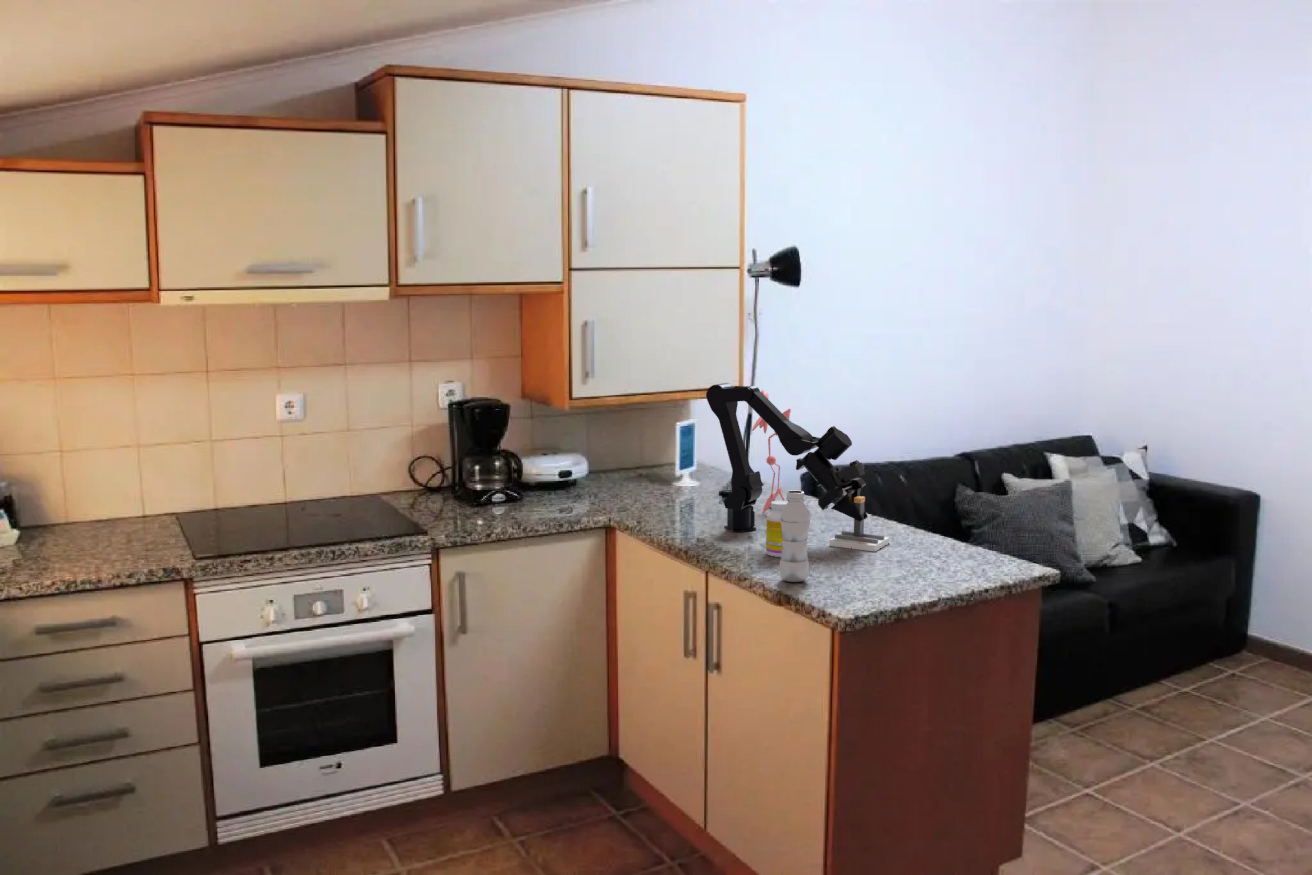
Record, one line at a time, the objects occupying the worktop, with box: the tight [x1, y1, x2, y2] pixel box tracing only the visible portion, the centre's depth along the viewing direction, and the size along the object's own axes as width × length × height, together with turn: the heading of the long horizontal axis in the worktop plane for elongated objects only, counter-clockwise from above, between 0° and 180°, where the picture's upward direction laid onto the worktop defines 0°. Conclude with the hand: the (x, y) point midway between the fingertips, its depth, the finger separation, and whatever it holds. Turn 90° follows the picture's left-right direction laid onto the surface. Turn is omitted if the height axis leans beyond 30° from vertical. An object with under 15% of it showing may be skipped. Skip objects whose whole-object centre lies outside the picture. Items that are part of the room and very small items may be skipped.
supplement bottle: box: [765, 500, 788, 558], centre depth 266 cm, size 7×7×13 cm
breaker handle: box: [853, 495, 866, 537], centre depth 276 cm, size 2×3×10 cm, turn 149°
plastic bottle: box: [778, 490, 812, 583], centre depth 242 cm, size 6×7×20 cm
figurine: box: [751, 388, 792, 515], centre depth 317 cm, size 15×26×35 cm, turn 162°
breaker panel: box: [828, 530, 890, 552], centre depth 277 cm, size 12×10×2 cm
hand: (864, 519), depth 276 cm, fingers closed on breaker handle, 3 cm apart
